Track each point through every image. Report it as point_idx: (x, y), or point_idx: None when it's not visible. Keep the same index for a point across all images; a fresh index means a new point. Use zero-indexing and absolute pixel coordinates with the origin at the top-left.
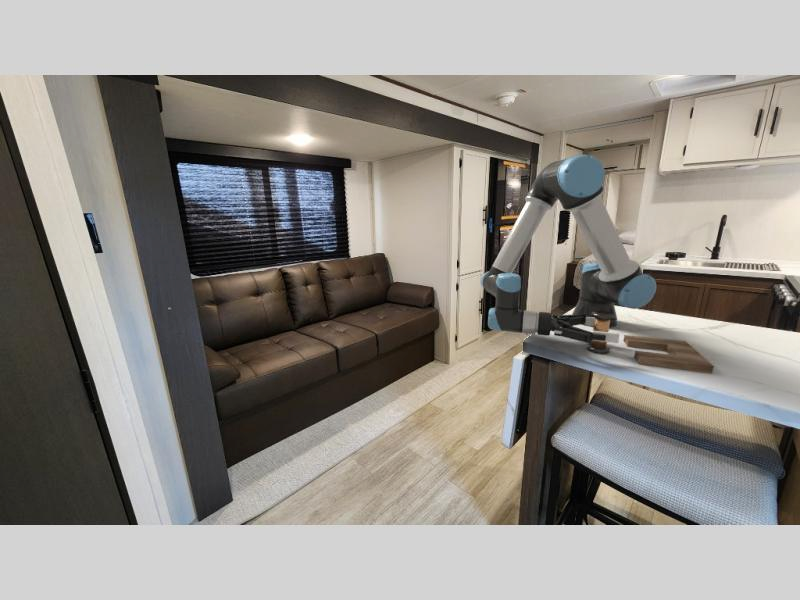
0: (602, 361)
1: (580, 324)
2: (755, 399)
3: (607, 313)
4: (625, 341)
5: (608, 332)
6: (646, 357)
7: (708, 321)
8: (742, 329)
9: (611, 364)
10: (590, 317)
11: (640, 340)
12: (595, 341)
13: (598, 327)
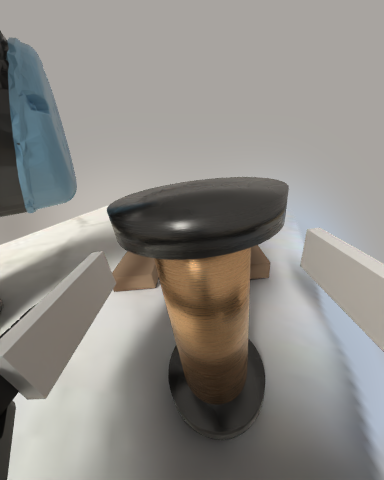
0: (336, 367)
1: (9, 458)
2: (288, 214)
3: (185, 187)
4: (131, 286)
5: (341, 250)
6: (259, 255)
7: (62, 223)
8: (95, 214)
9: (335, 336)
10: (27, 322)
11: (149, 258)
12: (243, 363)
13: (248, 290)
